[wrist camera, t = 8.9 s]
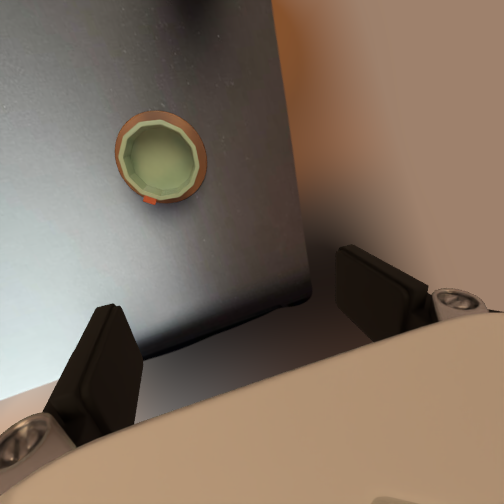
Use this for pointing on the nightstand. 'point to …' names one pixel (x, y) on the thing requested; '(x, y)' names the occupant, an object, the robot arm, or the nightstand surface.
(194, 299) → the nightstand surface
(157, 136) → the bowl
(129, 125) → the plate
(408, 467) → the robot arm
